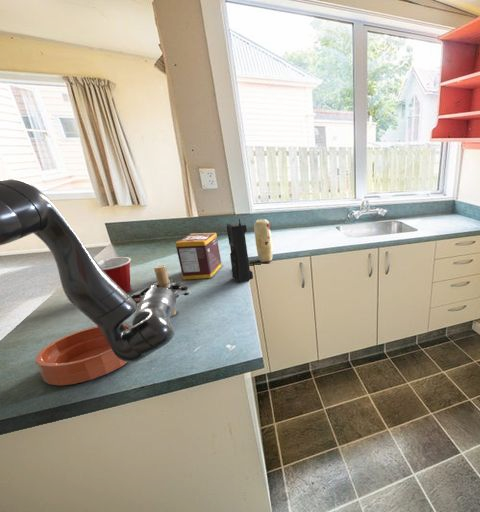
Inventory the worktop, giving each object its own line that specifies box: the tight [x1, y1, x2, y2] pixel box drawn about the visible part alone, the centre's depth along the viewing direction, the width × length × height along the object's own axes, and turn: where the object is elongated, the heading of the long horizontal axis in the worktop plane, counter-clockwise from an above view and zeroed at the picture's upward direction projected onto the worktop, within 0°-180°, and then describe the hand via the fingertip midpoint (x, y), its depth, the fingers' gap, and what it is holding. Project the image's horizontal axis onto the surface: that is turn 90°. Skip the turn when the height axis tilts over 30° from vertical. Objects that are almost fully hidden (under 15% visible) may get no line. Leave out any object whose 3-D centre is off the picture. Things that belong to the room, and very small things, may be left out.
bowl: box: [34, 323, 132, 386], centre depth 70 cm, size 17×17×6 cm
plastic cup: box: [96, 256, 132, 294], centre depth 105 cm, size 11×11×12 cm
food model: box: [253, 218, 273, 263], centre depth 140 cm, size 10×7×20 cm
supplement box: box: [174, 232, 223, 281], centre depth 124 cm, size 10×15×16 cm
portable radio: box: [226, 218, 254, 283], centre depth 117 cm, size 8×6×25 cm
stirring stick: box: [153, 264, 177, 317], centre depth 90 cm, size 3×3×16 cm
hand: (165, 283), depth 92 cm, fingers closed on stirring stick, 2 cm apart
